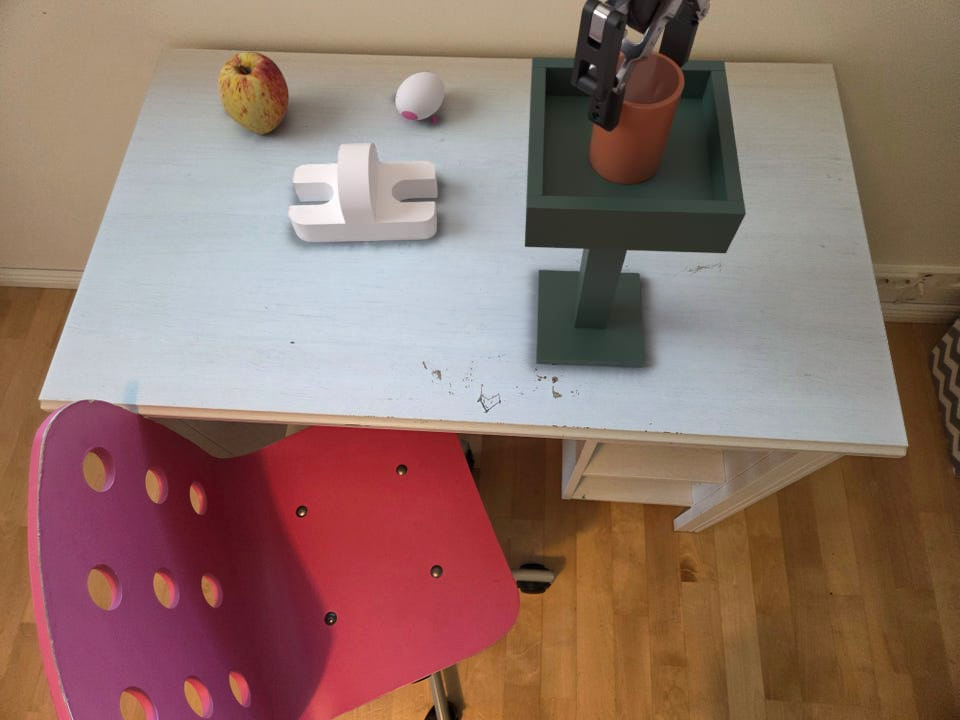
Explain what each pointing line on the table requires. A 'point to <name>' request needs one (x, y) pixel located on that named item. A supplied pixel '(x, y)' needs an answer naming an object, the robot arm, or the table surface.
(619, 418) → the table surface
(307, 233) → the slotted bracket
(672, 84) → the cup
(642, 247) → the green pedestal tray
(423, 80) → the white oval piece
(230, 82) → the apple
